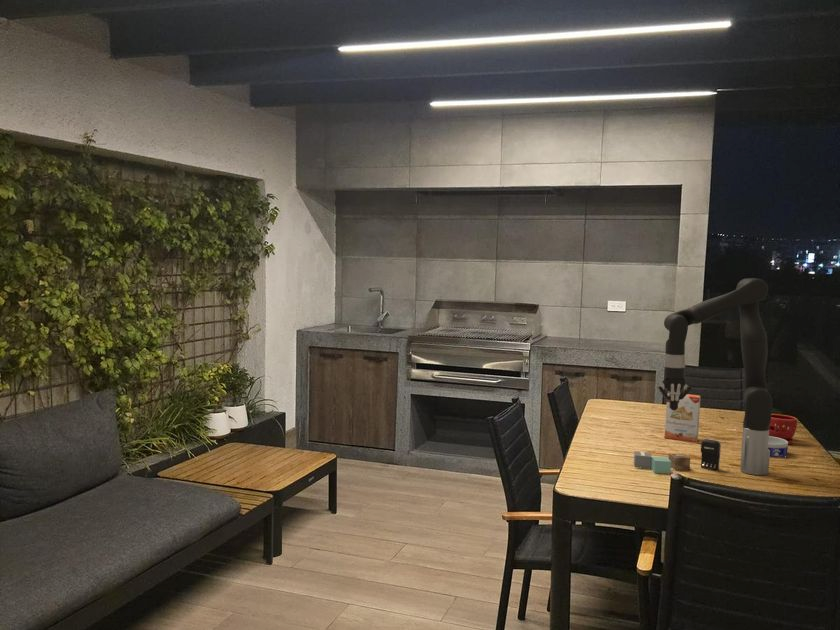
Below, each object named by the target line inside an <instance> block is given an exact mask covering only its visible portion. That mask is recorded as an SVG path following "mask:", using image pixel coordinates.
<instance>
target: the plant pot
mask: <svg viewBox="0 0 840 630" xmlns="http://www.w3.org/2000/svg"><path fill="white" fill-rule="evenodd" d="M797 426H798V418H796V417H794V416H790V415H785V414H775V413H773V414H771V423H770V427H769V436H772V437H777V438H781V439H784V440H786V441H788V445H790V444H792V443H794V441H795V439H794V438H793V437H794V436H795V434H796V431H797Z"/></svg>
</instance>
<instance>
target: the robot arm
mask: <svg viewBox="0 0 840 630" xmlns="http://www.w3.org/2000/svg"><path fill="white" fill-rule="evenodd" d="M768 293H769V286H768V284H767V282H766V281H765V280H763V279H761V278H756V277H755V278H754V277H752V278H748V277H747V278H743V279H741V280H740V281H738V283H737V285H736V288H735V290H732V291H730V292H727V293H725V294H721V295H719V296H714V297H712V298H709V299H706V300H704V301H700V302H699V303H696V304H694V305H692V306H690V307H688V308H684V309H682V310H678V311H675V312H673V313H670V314H668V315H667V316H666V317H665V319H664V321H663V326H664V329H666V330H667V331H668V339H667V340H665V354H664V365H663V366H664V369H663V370H664V371H663V380H662V383H661V384H659V385H657V386H656V388H657V389H658V391H659V392H660V394H661V395H662V396H663V397H664V399H666V400H667V399H669V400H670V405H669V407H670V409H671V410H676V409H678V401H679V400H681V399H683V398H684V397H685V396H686V395H687V394H689V393H690V391H691V390H692V387H691V386H689V385H688V384H687V382H686V380H685V379H686V378H685V377H686V356H685V355H686V354H685V353H686V352H685V351H686V350H685V349H686V339H687V335H688V331H689V330H688V329H689V326H691V325H696V324H700V323H703V322H705V321H707V320H710V319H712V318H714V317H717V316H719V315H721V314H724V313H726V312H728V311H730V310H733V309H735V308H738V312H739V327H740V328H739V329H740V350H741V358H742V364H743V369H744V370H743V371H744V390H743V391H744V392H743V399H744V403H745V405H744V417H743V421H742V436H741V437H742V438H741V452H740V453H741V454H740V455H741V456H740V466H739V467H740V468H739V470H740V471H741V472H742V473H745V474H748V475H754V476H764V475H769V474H770V473H769V471H770V459H771V457H770V450H769V449H768V441H769V427H770V423H771V414H772V413H773V412H772V411H773V397H772V395H771V393H770V392H769V391H768V385H767V378H766V369H767V363H768V355H769V353H768V352H769V350H768V349H769V347H768V336H767V332H766V330H765V326H764V324H763V321H762V318H761V315H760V306H759V305H760V303H759V302H761V301H763V300H764V299H765V298H766V297H767V295H768ZM665 389H666V390H667V391H665ZM668 393H669V396H668V395H667V394H668Z"/></svg>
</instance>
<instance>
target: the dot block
mask: <svg viewBox="0 0 840 630" xmlns="http://www.w3.org/2000/svg"><path fill="white" fill-rule="evenodd" d="M668 459H669V460H670V461H671V469H672V468H673V470H674V469H675V470H674V471H690V470H691V457H690V456H688V455H686V454H684V453H668Z"/></svg>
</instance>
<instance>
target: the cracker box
mask: <svg viewBox="0 0 840 630" xmlns="http://www.w3.org/2000/svg"><path fill="white" fill-rule="evenodd" d="M667 395H668V396H669V393H668V392H667ZM701 397H702V396H701V395H698V394H689V393H687V395H686V396H685V397H684V398H683V399H681V400H679V401H678V409H676V410H671V409H670V407H669V405H670V400H669V399H666V408H665V409H666V410H665V422H664V423H665V424H664V426H665V427H664V438H665V439H669V440H677V441H683V442H690V443H697V442H698V440H699V428H700V427H699V426H700V414H701V413H700V412H701Z"/></svg>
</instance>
